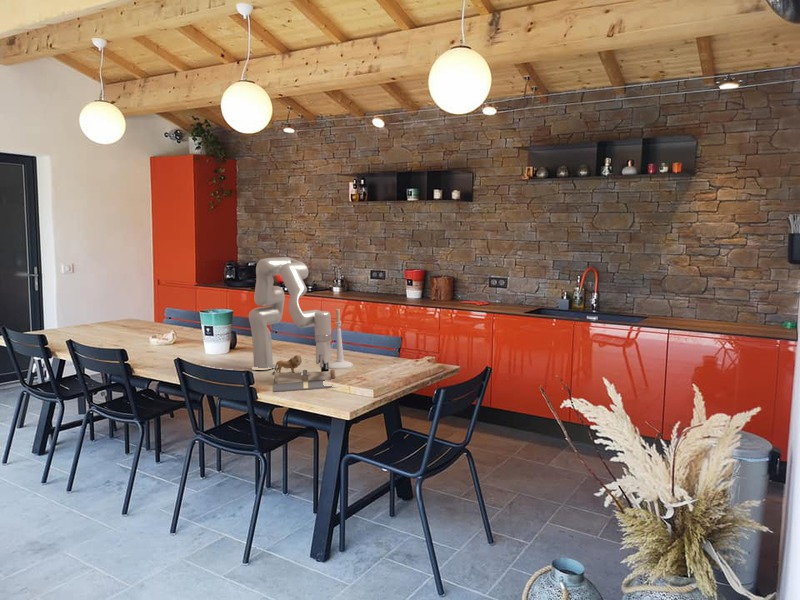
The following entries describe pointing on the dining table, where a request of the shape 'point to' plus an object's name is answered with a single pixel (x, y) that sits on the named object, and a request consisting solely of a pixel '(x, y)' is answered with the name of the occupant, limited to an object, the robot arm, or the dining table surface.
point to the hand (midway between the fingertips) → (325, 377)
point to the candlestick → (339, 348)
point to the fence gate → (321, 375)
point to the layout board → (299, 385)
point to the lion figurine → (289, 364)
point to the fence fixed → (290, 377)
